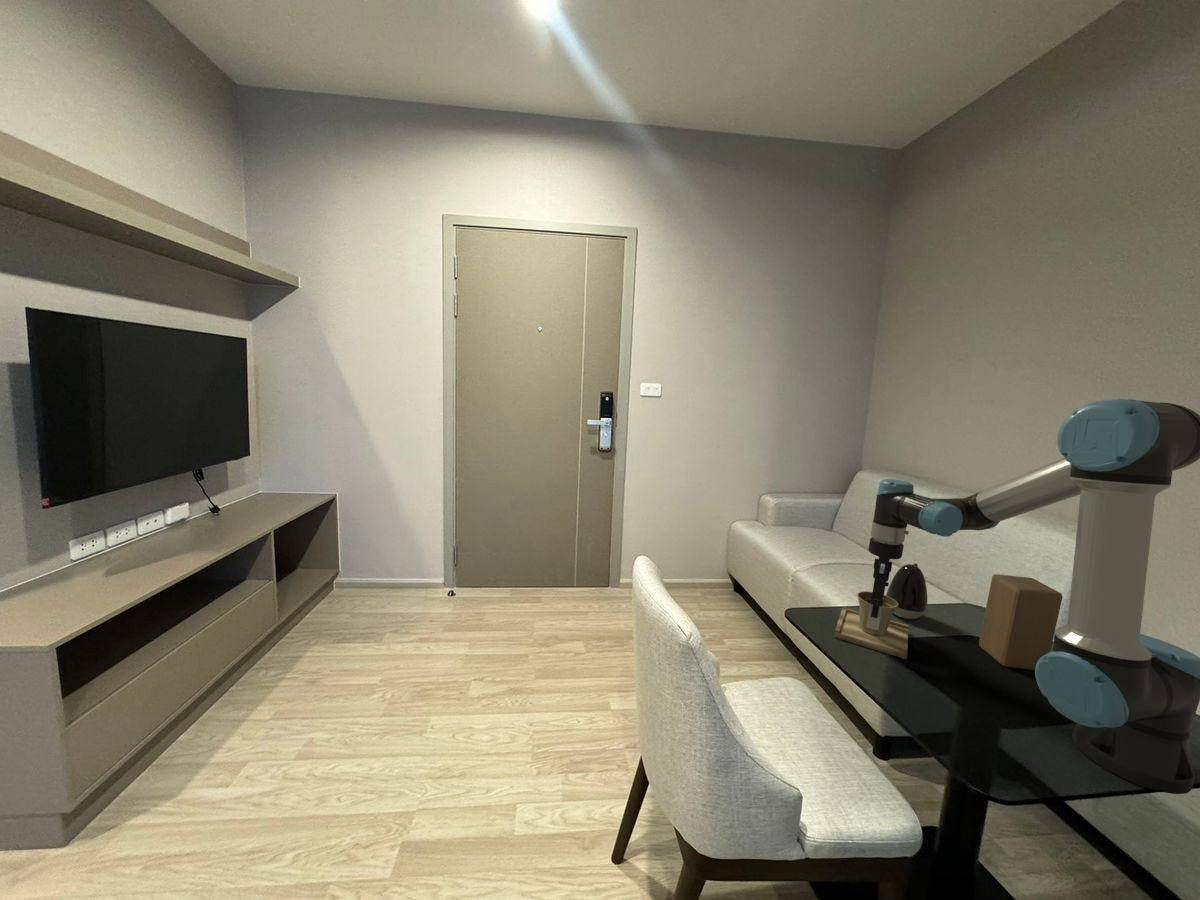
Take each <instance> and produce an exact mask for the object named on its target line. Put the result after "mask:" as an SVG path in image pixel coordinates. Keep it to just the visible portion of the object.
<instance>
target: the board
mask: <svg viewBox="0 0 1200 900" xmlns="http://www.w3.org/2000/svg"><path fill="white" fill-rule="evenodd" d="M833 637H834V638H836V639H839V640H842V641H845V642H849V643H852V644H856V645H859V646H862V647H864V648H867V649H871V650H875V651H878V652H881V653H884V654H887V655H889V656H894V657H898V658H900V659H903V660H907V657H908V646H909V645H908V643H909V642H908V641H909V625H908V624H904V623H901V622H899V621H898V622H897V621H895V620H890V623H889V626H888V629H887V632H886V634H885V635H882V636H879V635H877V634H875V635H872V634H869V633H867V632H865V631H863V630H862V629H861V628H860V627H859V610H854V609H850V608H847V607H844V606H842V609H841V611H840V614H839V618H838V621H837V624H836V625H835V629H834V636H833Z"/></svg>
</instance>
